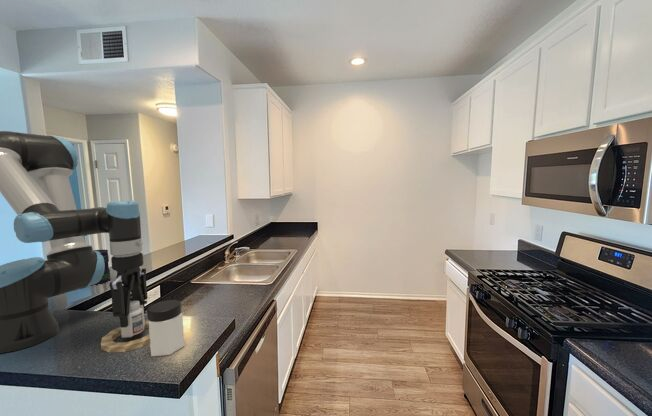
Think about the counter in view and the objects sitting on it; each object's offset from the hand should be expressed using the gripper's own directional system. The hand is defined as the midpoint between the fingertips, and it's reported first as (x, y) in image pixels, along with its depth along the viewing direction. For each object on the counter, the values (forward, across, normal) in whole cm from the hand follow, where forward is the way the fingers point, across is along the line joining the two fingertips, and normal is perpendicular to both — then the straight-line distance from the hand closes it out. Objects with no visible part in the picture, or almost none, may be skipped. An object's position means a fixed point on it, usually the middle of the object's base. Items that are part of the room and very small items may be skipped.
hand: (133, 331), depth 84 cm
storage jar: (+2, +55, +48) cm, 73 cm away
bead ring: (+2, 0, 0) cm, 2 cm away
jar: (+2, -7, -13) cm, 14 cm away
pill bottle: (0, 0, 0) cm, 0 cm away
